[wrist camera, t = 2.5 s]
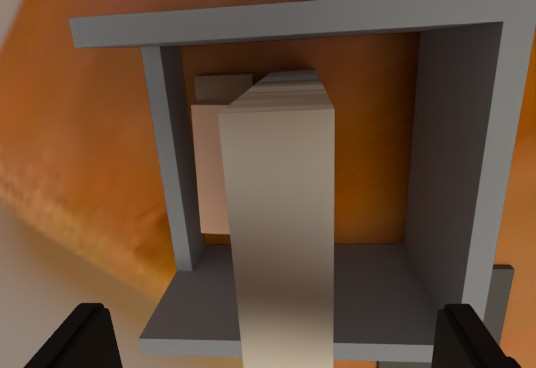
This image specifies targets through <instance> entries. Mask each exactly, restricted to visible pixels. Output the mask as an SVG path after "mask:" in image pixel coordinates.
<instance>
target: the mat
mask: <svg viewBox="0 0 536 368" xmlns="http://www.w3.org/2000/svg"><path fill="white" fill-rule="evenodd" d="M513 274H514V268H513V267H512V266H511V265H493V269H492V275H491V280H490V286H489V292H488V297H487V303H486V309H485V314H484V320H483V324H484V325H485V326H486V328H487V329H488V331H489V332H490V334H491V335H492V337H493V338H494V339H495V341H496V342H497V344H498V345H499V344H500V339H501V334H502V329H503V324H504V319H505V314H506V309H507V304H508V299H509V294H510V289H511V284H512V279H513ZM431 364H432V363H431V362H395V361H378V365H377V368H431Z"/></svg>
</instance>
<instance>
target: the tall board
mask: <svg viewBox="0 0 536 368" xmlns="http://www.w3.org/2000/svg"><path fill="white" fill-rule="evenodd" d="M218 121H219V131H220V141H221V151H222V160H223V170H224V180H225V190H226V200H227V210H228V219H229V229H230V239H231V249H232V259H233V269H234V278H235V288H236V298H237V308H238V318H239V328H240V337H241V347H242V357H243V367H244V368H333V309H334V147H335V109H334V107H333V105H332V103H331V100H330V98H329V96H328V94H327V92H326V90H325V88H324V86H323V84H322V82H321V80H320V78H319V76H318V74H317V72H316V70H315V69H296V70H277V71H271V72H270V73H269V74H268V75H266V76H265V77H264V78H263V79H261V80H260V81H259V82H258V83H256V84H255V85H254V86H252V87H251V88H250V89H249V90H247V91H246V92H245V93H244V94H242V95H241V96H240V97H239V98H237V99H236V100H235V101H233V102H232V103H231V104H230V105H228V106H227V107H226V108H225V109H223V110H222V111H221V112H220V113H218Z"/></svg>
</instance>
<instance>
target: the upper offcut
mask: <svg viewBox="0 0 536 368" xmlns="http://www.w3.org/2000/svg"><path fill="white" fill-rule="evenodd" d="M233 101H235V100H200V101H198V102H196V103H194V104H192V105H191V113H192V125H193V138H194V151H195V163H196V176H197V188H198V201H199V213H200V226H201V233H212V234H230V229H229V219H228V210H227V200H226V190H225V180H224V170H223V160H222V151H221V141H220V131H219V121H218V113H220V112H221V111H222V110H223V109H225V108H226V107H227V106H228V105H230V104H231V103H232V102H233Z"/></svg>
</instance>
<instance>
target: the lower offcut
mask: <svg viewBox="0 0 536 368" xmlns="http://www.w3.org/2000/svg"><path fill="white" fill-rule="evenodd" d="M193 77H194V86H195V96H196V102H198V101H200V100H236V99H237V98H239V97H240V96H241V95H242V94H244V93H245V92H246V91H247V90H249V89H250V88H251V87H252V86H254V85H255V84H256V72H252V73H225V74H201V75H197V76H193ZM210 235H230V234H212V233H210Z"/></svg>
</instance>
